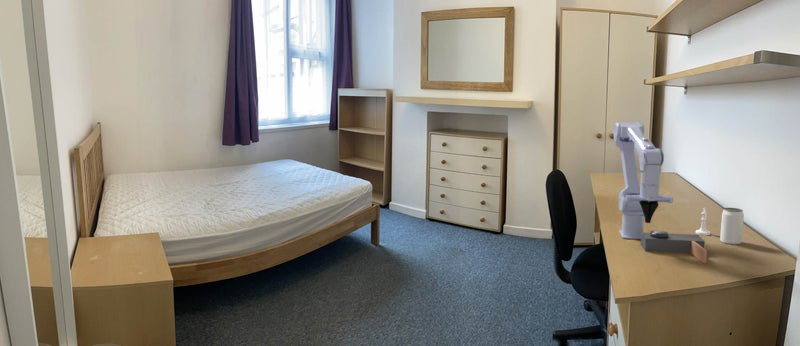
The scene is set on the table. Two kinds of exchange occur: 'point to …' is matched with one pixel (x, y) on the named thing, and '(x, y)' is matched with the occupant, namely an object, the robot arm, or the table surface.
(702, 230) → the chess piece
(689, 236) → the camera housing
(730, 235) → the can
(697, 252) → the side door
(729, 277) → the table surface
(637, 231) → the robot arm
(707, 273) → the table surface
